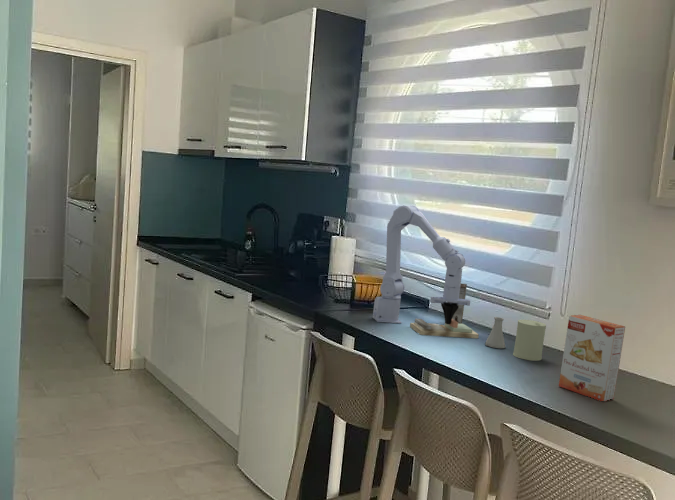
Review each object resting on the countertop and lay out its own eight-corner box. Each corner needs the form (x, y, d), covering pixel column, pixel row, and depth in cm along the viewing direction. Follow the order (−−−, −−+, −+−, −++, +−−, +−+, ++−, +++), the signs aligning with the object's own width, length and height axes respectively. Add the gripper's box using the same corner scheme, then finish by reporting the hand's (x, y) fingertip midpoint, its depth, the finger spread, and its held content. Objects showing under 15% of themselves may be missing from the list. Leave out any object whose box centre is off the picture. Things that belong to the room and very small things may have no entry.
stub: (453, 331, 248) (454, 322, 248) (444, 325, 257) (445, 317, 256) (472, 332, 249) (473, 324, 249) (462, 326, 258) (463, 318, 258)
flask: (507, 346, 241) (511, 318, 240) (503, 350, 234) (507, 321, 233) (487, 342, 244) (490, 314, 243) (482, 346, 237) (486, 317, 236)
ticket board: (420, 334, 244) (421, 325, 244) (409, 326, 256) (410, 317, 255) (478, 338, 249) (479, 329, 248) (465, 330, 260) (466, 321, 260)
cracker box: (557, 387, 196) (568, 314, 194) (569, 384, 200) (579, 313, 198) (603, 403, 185) (615, 326, 183) (614, 400, 189) (626, 325, 187)
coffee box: (445, 321, 273) (450, 281, 271) (461, 324, 271) (467, 283, 270) (444, 326, 264) (449, 284, 262) (461, 328, 262) (466, 287, 261)
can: (526, 361, 223) (531, 324, 221) (507, 353, 231) (511, 318, 229) (547, 360, 227) (552, 324, 226) (527, 352, 235) (532, 318, 234)
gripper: (436, 287, 245) (432, 324, 247) (475, 290, 248) (470, 327, 249) (430, 283, 252) (425, 320, 253) (467, 286, 255) (463, 322, 256)
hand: (447, 323), depth 252 cm, fingers closed
